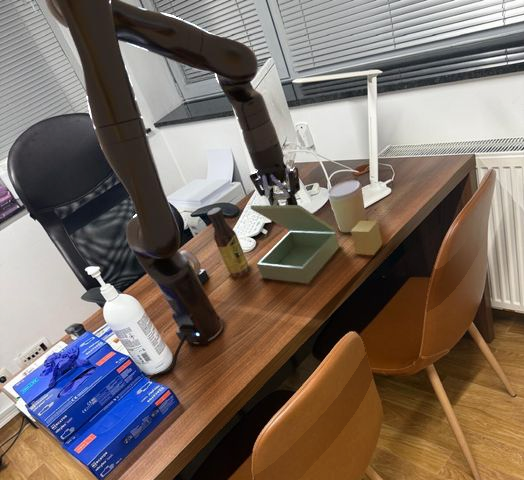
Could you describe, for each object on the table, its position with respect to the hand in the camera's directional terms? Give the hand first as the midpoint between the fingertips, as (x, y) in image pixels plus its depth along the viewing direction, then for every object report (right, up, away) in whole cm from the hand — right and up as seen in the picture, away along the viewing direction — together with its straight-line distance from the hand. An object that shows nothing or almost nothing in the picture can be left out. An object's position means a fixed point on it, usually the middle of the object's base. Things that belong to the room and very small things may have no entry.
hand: (285, 209), depth 115 cm
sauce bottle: (-12, -13, +18) cm, 26 cm away
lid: (+2, -2, +3) cm, 4 cm away
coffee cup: (+20, -1, +15) cm, 25 cm away
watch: (-25, -16, +23) cm, 37 cm away
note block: (+22, -10, +3) cm, 24 cm away
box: (+5, -12, +10) cm, 16 cm away
